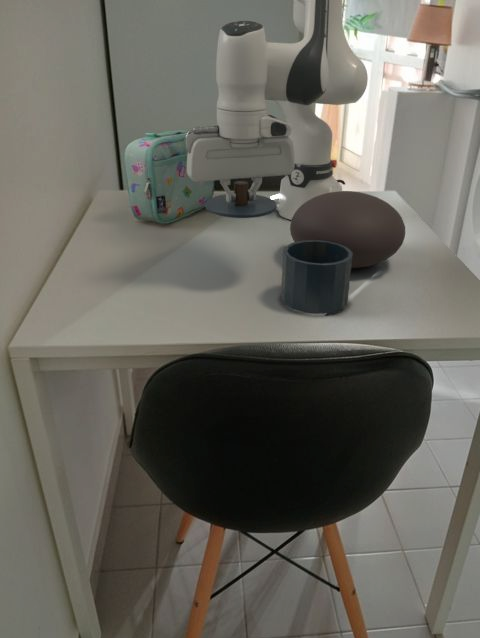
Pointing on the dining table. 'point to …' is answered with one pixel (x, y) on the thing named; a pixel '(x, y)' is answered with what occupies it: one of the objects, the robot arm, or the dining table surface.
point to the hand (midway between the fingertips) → (241, 200)
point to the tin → (316, 276)
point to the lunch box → (163, 179)
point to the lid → (241, 204)
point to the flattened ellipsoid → (351, 225)
